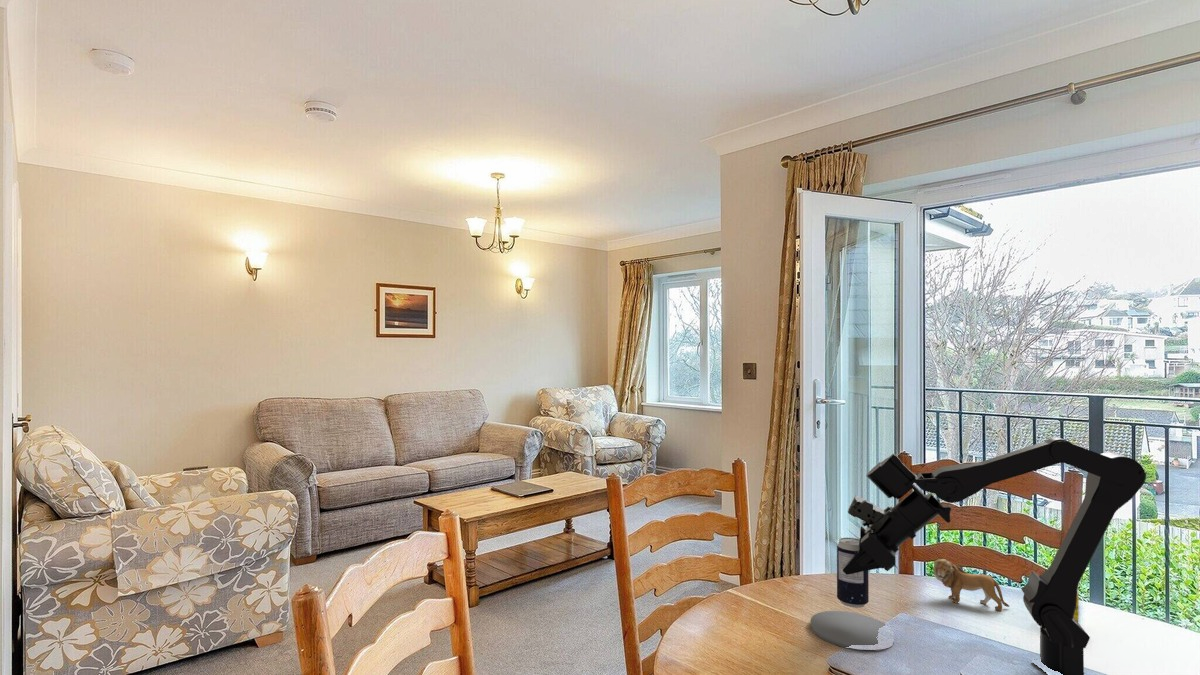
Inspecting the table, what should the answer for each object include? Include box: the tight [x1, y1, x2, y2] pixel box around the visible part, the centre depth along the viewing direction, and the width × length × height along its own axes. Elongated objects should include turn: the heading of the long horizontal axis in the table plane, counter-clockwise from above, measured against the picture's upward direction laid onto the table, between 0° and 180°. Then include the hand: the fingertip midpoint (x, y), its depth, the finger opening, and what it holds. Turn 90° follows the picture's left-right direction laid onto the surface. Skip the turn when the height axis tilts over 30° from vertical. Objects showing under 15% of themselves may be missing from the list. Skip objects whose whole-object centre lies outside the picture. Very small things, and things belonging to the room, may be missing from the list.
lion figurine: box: [932, 558, 1010, 612], centre depth 135 cm, size 15×5×9 cm, turn 70°
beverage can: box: [836, 537, 870, 609], centre depth 118 cm, size 6×6×12 cm
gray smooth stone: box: [810, 610, 886, 649], centre depth 118 cm, size 15×15×1 cm
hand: (845, 567), depth 119 cm, fingers closed on beverage can, 6 cm apart
